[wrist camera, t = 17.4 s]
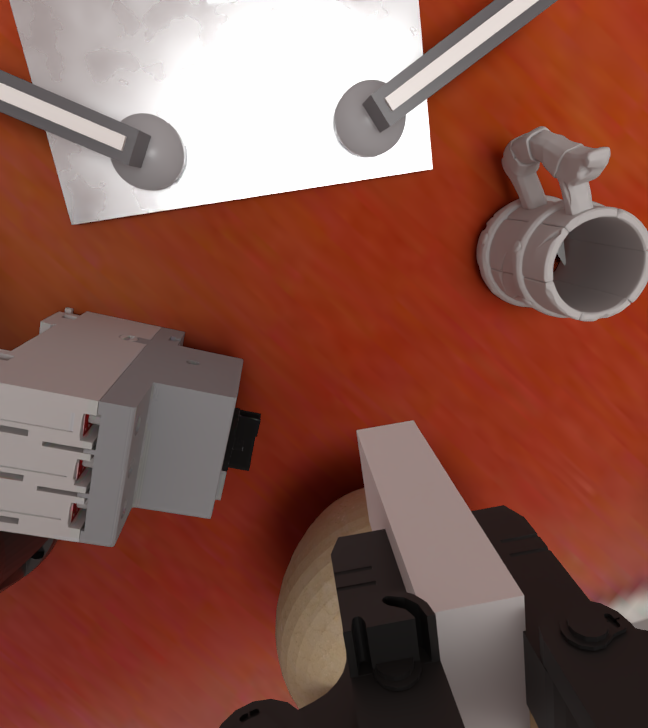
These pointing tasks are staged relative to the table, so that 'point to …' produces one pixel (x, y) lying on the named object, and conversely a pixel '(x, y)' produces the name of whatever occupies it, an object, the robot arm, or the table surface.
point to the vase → (317, 604)
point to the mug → (562, 235)
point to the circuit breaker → (114, 427)
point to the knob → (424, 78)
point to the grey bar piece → (101, 133)
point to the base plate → (221, 91)
